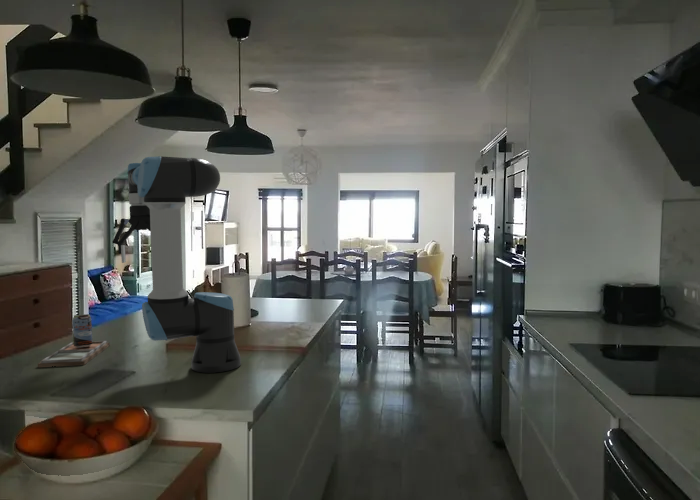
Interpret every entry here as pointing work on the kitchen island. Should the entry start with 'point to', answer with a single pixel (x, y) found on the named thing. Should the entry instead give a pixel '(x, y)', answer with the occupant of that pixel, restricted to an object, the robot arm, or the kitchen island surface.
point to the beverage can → (82, 330)
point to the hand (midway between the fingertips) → (142, 261)
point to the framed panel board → (74, 355)
